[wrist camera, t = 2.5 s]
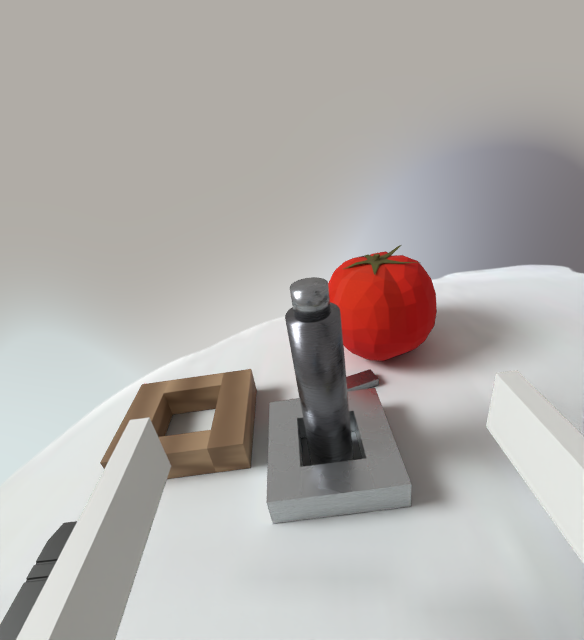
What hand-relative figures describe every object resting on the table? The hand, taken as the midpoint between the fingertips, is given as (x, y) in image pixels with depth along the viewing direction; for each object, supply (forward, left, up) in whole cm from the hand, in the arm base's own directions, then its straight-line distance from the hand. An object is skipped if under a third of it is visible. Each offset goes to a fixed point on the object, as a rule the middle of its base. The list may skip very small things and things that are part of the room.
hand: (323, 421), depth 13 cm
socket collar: (0, -10, -15) cm, 18 cm away
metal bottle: (0, -10, -15) cm, 18 cm away
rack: (+13, -15, -15) cm, 24 cm away
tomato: (-8, -25, -15) cm, 30 cm away
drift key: (-2, -18, -15) cm, 23 cm away
